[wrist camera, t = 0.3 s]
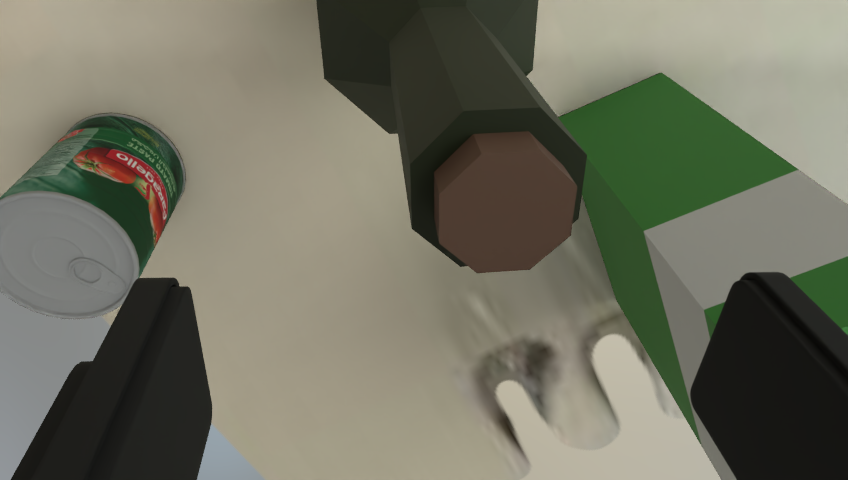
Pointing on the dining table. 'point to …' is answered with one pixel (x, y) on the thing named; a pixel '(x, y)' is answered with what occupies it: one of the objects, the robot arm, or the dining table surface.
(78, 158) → the canned tomato
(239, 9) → the dining table surface
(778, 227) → the hardback book
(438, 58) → the wine bottle
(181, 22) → the dining table surface
